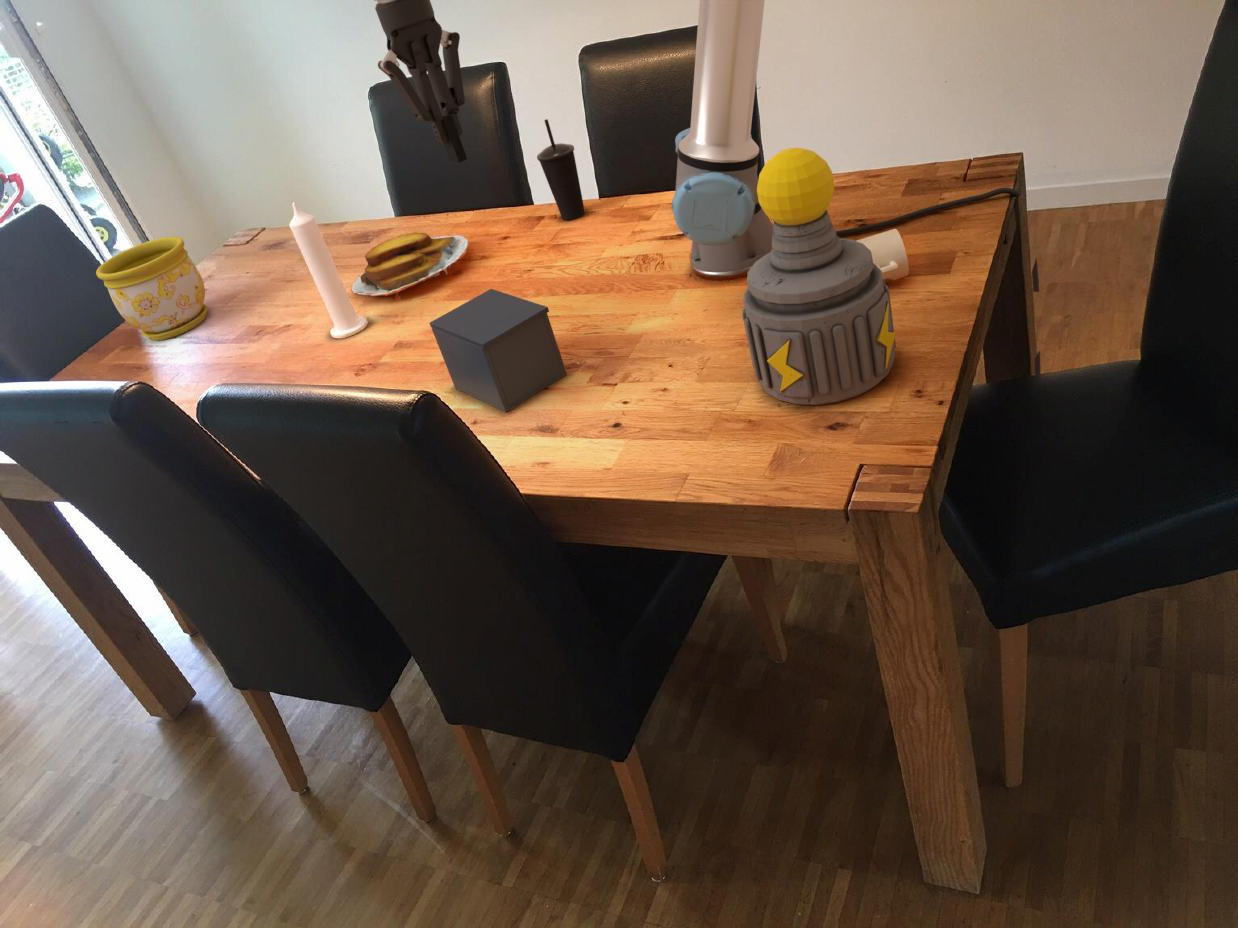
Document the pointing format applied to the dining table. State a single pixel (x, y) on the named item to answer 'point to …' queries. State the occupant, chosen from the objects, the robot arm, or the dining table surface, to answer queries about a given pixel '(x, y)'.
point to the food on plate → (407, 262)
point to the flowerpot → (156, 288)
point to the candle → (325, 275)
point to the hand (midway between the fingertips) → (458, 160)
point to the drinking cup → (562, 177)
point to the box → (504, 364)
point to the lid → (489, 318)
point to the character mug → (888, 254)
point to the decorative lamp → (814, 294)
